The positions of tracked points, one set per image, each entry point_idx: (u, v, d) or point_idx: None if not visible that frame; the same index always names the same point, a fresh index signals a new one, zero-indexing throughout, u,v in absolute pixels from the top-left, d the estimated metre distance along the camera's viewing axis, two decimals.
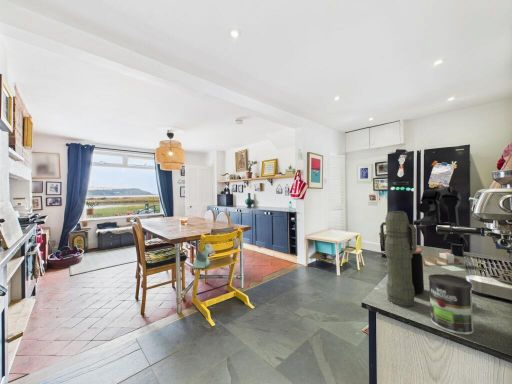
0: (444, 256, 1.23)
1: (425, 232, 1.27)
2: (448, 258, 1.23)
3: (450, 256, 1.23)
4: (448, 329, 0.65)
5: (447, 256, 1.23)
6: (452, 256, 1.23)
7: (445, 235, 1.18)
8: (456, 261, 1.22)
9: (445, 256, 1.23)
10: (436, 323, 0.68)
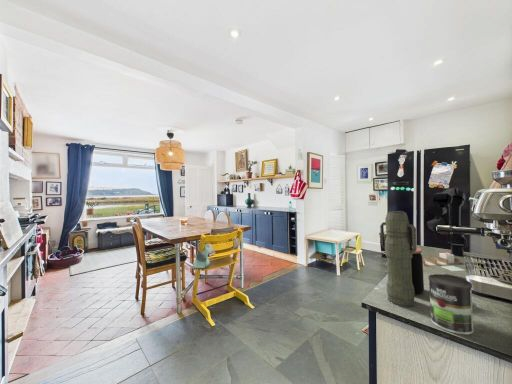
0: (444, 256, 1.23)
1: (438, 234, 1.30)
2: (448, 258, 1.23)
3: (450, 256, 1.23)
4: (448, 329, 0.65)
5: (447, 256, 1.23)
6: (452, 256, 1.23)
7: (453, 238, 1.19)
8: (456, 261, 1.22)
9: (445, 256, 1.23)
10: (436, 323, 0.68)
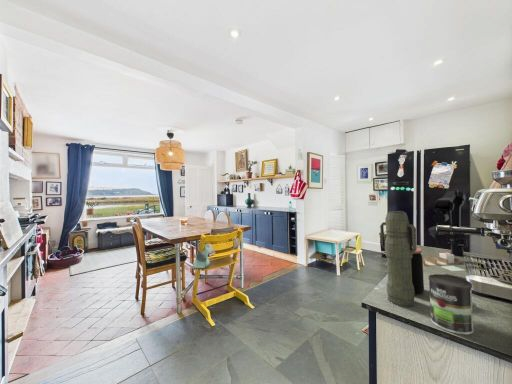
0: (444, 256, 1.23)
1: (440, 241, 1.30)
2: (448, 258, 1.23)
3: (450, 256, 1.23)
4: (448, 329, 0.65)
5: (447, 256, 1.23)
6: (452, 256, 1.23)
7: (454, 245, 1.19)
8: (456, 261, 1.22)
9: (445, 256, 1.23)
10: (436, 323, 0.68)
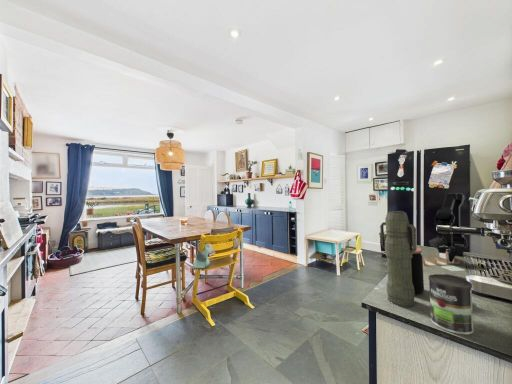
0: (444, 256, 1.23)
1: None
2: (448, 258, 1.23)
3: None
4: (448, 329, 0.65)
5: (447, 256, 1.23)
6: None
7: (451, 257, 1.21)
8: (456, 261, 1.22)
9: (445, 256, 1.23)
10: (436, 323, 0.68)
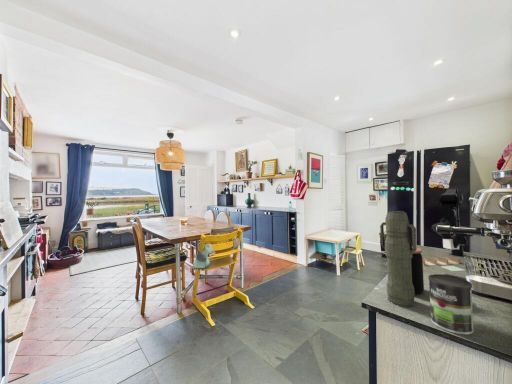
0: (448, 242, 1.13)
1: None
2: (452, 244, 1.12)
3: None
4: (448, 329, 0.65)
5: (451, 242, 1.12)
6: None
7: (456, 242, 1.11)
8: (456, 261, 1.22)
9: (449, 242, 1.13)
10: (436, 323, 0.68)
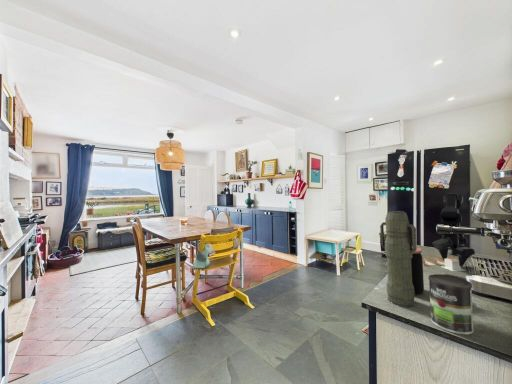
0: (450, 262, 1.13)
1: (445, 255, 1.19)
2: (454, 264, 1.12)
3: (456, 262, 1.12)
4: (448, 329, 0.65)
5: (453, 262, 1.12)
6: (458, 262, 1.12)
7: (462, 261, 1.09)
8: None
9: (451, 262, 1.12)
10: (436, 323, 0.68)
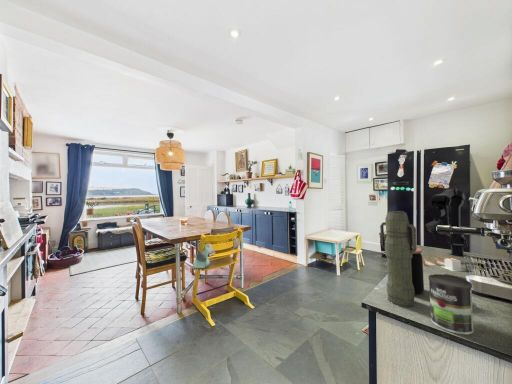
0: (450, 262, 1.13)
1: (437, 236, 1.30)
2: (454, 264, 1.12)
3: (456, 262, 1.12)
4: (448, 329, 0.65)
5: (453, 262, 1.12)
6: (458, 262, 1.12)
7: (452, 240, 1.19)
8: None
9: (451, 262, 1.12)
10: (436, 323, 0.68)
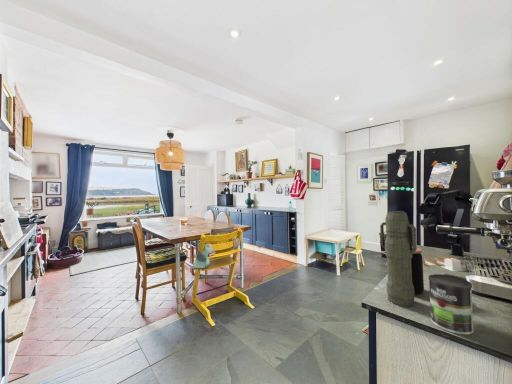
0: (450, 262, 1.13)
1: (431, 232, 1.38)
2: (454, 264, 1.12)
3: (456, 262, 1.12)
4: (448, 329, 0.65)
5: (453, 262, 1.12)
6: (458, 262, 1.12)
7: (444, 235, 1.28)
8: None
9: (451, 262, 1.12)
10: (436, 323, 0.68)
